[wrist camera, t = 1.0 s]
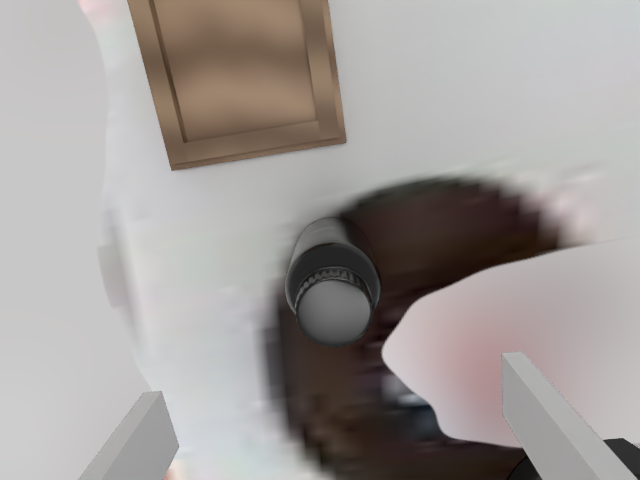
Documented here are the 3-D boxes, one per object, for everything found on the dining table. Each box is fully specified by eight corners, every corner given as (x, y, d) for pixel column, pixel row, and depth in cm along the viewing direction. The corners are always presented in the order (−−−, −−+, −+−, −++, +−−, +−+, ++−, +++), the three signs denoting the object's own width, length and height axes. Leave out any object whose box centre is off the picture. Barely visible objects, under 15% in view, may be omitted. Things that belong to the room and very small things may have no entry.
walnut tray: (346, 142, 30) (346, 142, 28) (176, 169, 31) (166, 171, 29) (318, -66, 26) (317, -82, 24) (126, -26, 28) (110, -39, 26)
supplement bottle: (291, 280, 34) (268, 352, 22) (301, 210, 32) (283, 249, 20) (362, 292, 34) (377, 370, 22) (377, 223, 32) (401, 268, 20)
